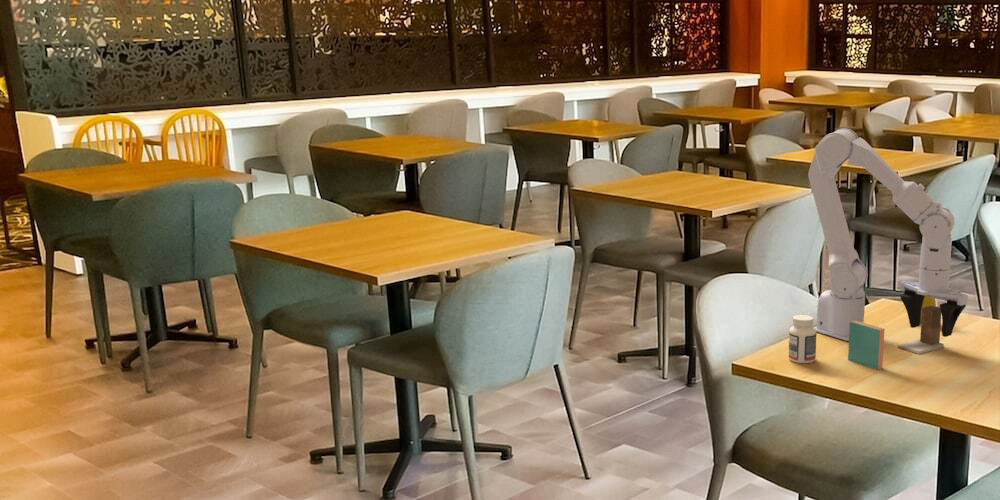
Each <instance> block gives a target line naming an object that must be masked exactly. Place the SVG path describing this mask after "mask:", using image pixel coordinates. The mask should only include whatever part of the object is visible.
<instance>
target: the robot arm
mask: <svg viewBox="0 0 1000 500" xmlns="http://www.w3.org/2000/svg"><path fill="white" fill-rule="evenodd" d="M846 161H847V162H846ZM844 163H846V165H848V166H855V167H861V168H864V169H865V170H866V171H867V172H868V173H869V174H870V175H872V176H873V177H874V178H875V179H876V180H877V181H879V182H880V183H881V184H882V185H883V186H884V187H885V188H886V189H888V190H889V191H890V192H891V194H892V202H893V203H894V204H895V205H896V206H897V207H898V208H899V209H900V210H901V211H902V212H903V213H904V214H905V215H907V216H908V218H910V220H911V221H912V222H913V223H915V224H918V225H919V231H920V233H921V235H922V237H921V238H922V239H921V240H922V241H921V242H922V243H921V245H920V256H919V257H920V258H919V259H920V260H919V273H918V282H917V281H910V280H904V281H900V282H899V283H900V285H899V291H900V292H903V294H900V296H899V297H900V300H901V301H902V303H903V306H904V308H905V310H906V312H907V317H908V322H909V325H910V328H912V329H914V328H917V327H920V326H921V322H920V319H921V309H922V304H923V300H924V297H925V296H928V297H932V298H935V300H941V301H946V302H943V303H941V304H939V307H940V309H941V336H942V337H944V338H947V337H950V336H952V334H953V330H954V329H955V328H954V327H955V326H956V323H957V320H958V319H959V316H960V315H961V314H962V312H963V311H964V309H965V308H966V305H968V302H969V301H968V300H969V295H968V294H965V293H962V292H959V291H957V290H954V289H952V288H950V287H949V286H950V275H951V274H950V271H951V257H952V256H951V255H952V234H951V232H952V230H953V229H954V226H955V218H954V215H953V214H952V212H951V210H950V209H949V208H948V207H944V206H943V204H942V203H941V202H940V201H938V202H936V200H934V199H933V198H932V197H931V196H930V195H929V194H928V193H927V192H926V191H925V189H926V187H925V186H924V185H923V184H922V183H919V184H917V183H916V182H915V181H906V180H904V179H903V178H902V177H901V176H900V175H899V174H898V173H897V172H896V171H895V169H893V168H892V167H891V166H890V165H889V164H888V162H886V160H884V159H883V158H882V157H881V155H880V154H879V153H878V152H877V151H876V150H874V148H873V147H872V146H871V145H870V144H869V143H868V142H867V141H866V140H865V139H863V138H862V137H859V136H858V135H857V134H856V132H855V131H853V130H852V129H850V128H847V127H846V128H844V127H842V128H839V129H836V130H835V131H833V132H831V133H828V134H826V135H824V137H822V139H821V140H820V141H819V142H818V144H816V145H815V148H814V154H813V157H812V160H811V164H810V166H809V170H808V173H807V174H808V181H809V183H810V188H811V192H812V196H813V199H814V203H815V206H816V210H817V214H818V217H819V222H820V225H821V228H822V229H821V230H822V232H823V236H824V240H825V244H826V246H827V251H828V254H829V255H828V270H829V278H828V287H829V289H827V290H824V291H823V292H822V293H821V294H820V295H819V298H818V300H817V310H816V327H814V328H815V329H816V333H820V334H824V335H827V336H829V337H832V338H836V339H840V340H843V341H846V342H849V330H850V322H851V321H855V320H856V321H859V322H863V323H865V304H866V303H865V301H866V292H865V290H864V288H863V285H864V284H865V283H866V282H867V279H868V276H869V273H868V270H867V269H868V268H866V267H867V266H865V265H864V263H863V262H862V261H861V259H860V257H859V254H858V252H857V250H856V249H855V248H854V245H853V242H852V237H851V235H850V231H849V227H848V224H847V220H846V215H845V213H844V209H843V208H844V207H843V203H842V201H841V197H840V193H839V190H838V187H837V183H836V179H835V176H836V174H837V173H838V172H839V170H840V169H841V168H842V166H843V164H844Z"/></svg>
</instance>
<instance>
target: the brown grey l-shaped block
mask: <svg viewBox="0 0 1000 500" xmlns="http://www.w3.org/2000/svg"><path fill="white" fill-rule="evenodd" d="M941 327H942V313H941V309H940V306H932V305H931V306H927V307H923V308H922V320H921V322H920V337H919V338H918V339H915V340H912V341H908V342H905V343H901V344H899V345H897V348H898V349H901V350H903V351H906V352H907V351H908V352H911V353H914V354H918V355H921V354H924V353H927V352H928V353H929V352H931V351H935V350H938V349H942V348H944V347H945V343H941V342H940V338H941Z"/></svg>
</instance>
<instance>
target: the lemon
mask: <svg viewBox="0 0 1000 500" xmlns="http://www.w3.org/2000/svg"><path fill="white" fill-rule="evenodd" d="M936 303H937V302H936V298H932V297H928V296H925V297H924V300H923V304H922V308H923V307H927V306H931V305H932V306H936ZM936 307H937V306H936ZM921 320H922V309H921V319H920V323H921Z"/></svg>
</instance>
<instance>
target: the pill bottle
mask: <svg viewBox="0 0 1000 500" xmlns="http://www.w3.org/2000/svg"><path fill="white" fill-rule="evenodd" d="M791 323H792V326H791V327H790V328H789V332H788V359H789V361H790V362H794V363H795V364H810V363H813V362H815V361H816V360H817V359H816V356H817V332H816V329H815V328H816V327H814V317H813V316H811V315H806V314H796V315H794V316H792V322H791Z"/></svg>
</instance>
